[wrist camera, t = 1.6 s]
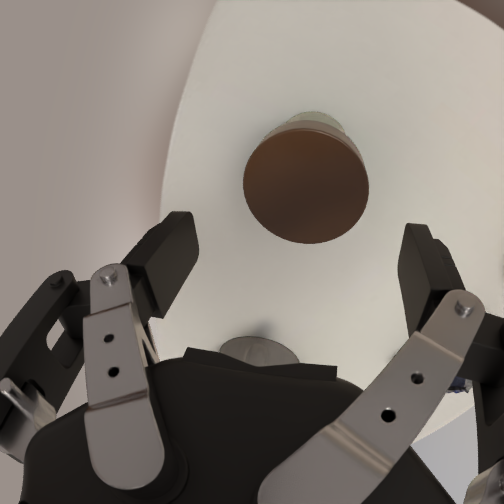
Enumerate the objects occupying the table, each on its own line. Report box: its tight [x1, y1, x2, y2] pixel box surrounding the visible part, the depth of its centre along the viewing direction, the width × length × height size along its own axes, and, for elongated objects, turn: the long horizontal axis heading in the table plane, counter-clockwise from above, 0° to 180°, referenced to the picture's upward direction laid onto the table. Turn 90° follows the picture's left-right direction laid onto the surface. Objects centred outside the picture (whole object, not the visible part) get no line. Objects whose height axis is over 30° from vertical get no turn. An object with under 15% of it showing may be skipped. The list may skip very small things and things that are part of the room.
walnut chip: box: [243, 120, 369, 244], centre depth 15 cm, size 6×6×2 cm
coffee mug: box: [219, 337, 299, 366], centre depth 32 cm, size 13×10×10 cm
